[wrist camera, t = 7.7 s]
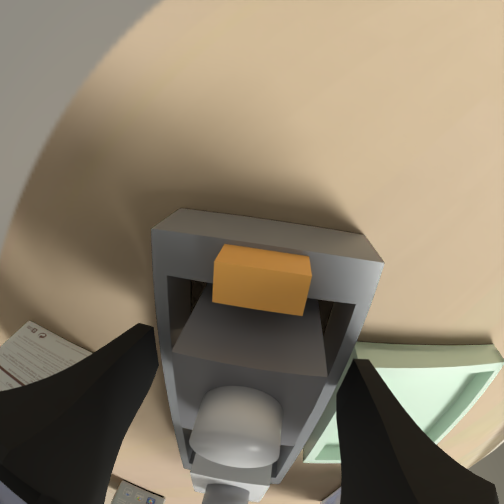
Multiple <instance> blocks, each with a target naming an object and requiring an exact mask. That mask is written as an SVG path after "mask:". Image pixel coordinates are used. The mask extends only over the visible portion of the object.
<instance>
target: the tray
mask: <svg viewBox="0 0 504 504" xmlns="http://www.w3.org/2000/svg"><path fill="white" fill-rule="evenodd" d="M353 358H354V359H369V360H370V362H371V363H372V365H373V366H374V367H375V369H376V370H377V372H378V373H379V375H380V376H381V377H382V379H383V380H384V382H385V383H386V385H387V386H388V387H389V389H390V390H391V392H392V393H393V394H394V396H395V397H396V399H397V400H398V401H399V403H400V404H401V405H402V407H403V408H404V409H405V410H406V412H407V413H408V414H409V415H410V417H411V418H412V419H413V420H414V421H415V423H416V424H417V425H418V426H419V427H420V428H421V430H422V431H423V432H424V433H425V434H426V435H427V436H428V437H429V438H430V439H431V440H432V441H433V442H434V443H435V444H437V443H438V442H439V441H441V440H442V439H443V438H444V437H445V436H446V435H447V434H448V433H449V432H450V431H451V429H452V428H453V427H454V426H455V425H456V424H457V423H458V422H459V421H460V420H461V419H462V418H463V417H464V415H465V414H466V413H467V412H468V411H469V410H470V409H471V407H472V406H473V405H474V404H475V403H476V401H477V400H478V399H479V398H480V396H481V395H482V394H483V393H484V391H485V390H486V389H487V387H488V386H489V385H490V383H491V382H492V381H493V379H494V378H495V377H496V375H497V374H498V372H499V371H500V369H501V368H502V366H503V365H504V359H503V357H502V356H501V354H500V353H499V351H498V350H497V348H496V347H495V346H494V344H489V345H406V344H386V343H370V342H356V344H355V346H354V349H353V351H352V353H351V356H350V358H349V360H348V362H347V365H346V367H345V369H344V371H343V373H342V375H341V378H340V380H339V382H338V384H337V386H336V388H335V390H334V392H333V394H332V396H331V398H330V400H329V402H328V404H327V406H326V408H325V410H324V411H323V413H322V415H321V417H320V419H319V421H318V423H317V424H316V426H315V428H314V430H313V431H312V433H311V435H310V437H309V438H308V440H307V442H306V443H305V445H304V447H303V463H341V458H340V448H339V439H338V430H337V421H336V393H337V392H338V390H339V388H340V386H341V384H342V382H343V379H344V377H345V375H346V373H347V371H348V369H349V367H350V365H351V363H352V360H353Z"/></svg>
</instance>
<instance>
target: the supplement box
mask: <svg viewBox="0 0 504 504" xmlns="http://www.w3.org/2000/svg"><path fill="white" fill-rule="evenodd" d="M91 354H93V353H91V352H89V351H87V350H85V349H83V348H81V347H79V346H77V345H75V344H73V343H71V342H69V341H67V340H65V339H63V338H61V337H59V336H58V335H56V334H54V333H52V332H50V331H48V330H46V329H45V328H43V327H41V326H39V325H37V324H36V323H34V322H32V321H28V322H27V323H26V324H24V325H23V326H22V327H21V328H20V329H19V330H18V331H17V332H16V333H14V334H13V335H12V336H11V337H10V338H9V339H8V340H7V341H6V342H5V343H4V344H3V345H2V346H1V347H0V391H4V390H9V389H13V388H17V387H21V386H24V385H27V384H30V383H33V382H36V381H39V380H41V379H44V378H47V377H49V376H52V375H54V374H56V373H58V372H60V371H62V370H64V369H66V368H68V367H70V366H72V365H74V364H76V363H77V362H79V361H81V360H83V359H84V358H86V357H88V356H89V355H91Z"/></svg>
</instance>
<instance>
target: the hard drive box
mask: <svg viewBox="0 0 504 504" xmlns="http://www.w3.org/2000/svg"><path fill="white" fill-rule="evenodd" d="M165 500H166V499H165V498H162V497H160V496H157V495H155V494H152V493H150V492H147V491H145V490H143V489H141V488H138V487H136V486H134V485H132V484H130V483H128V482H126V481H123V480H122V481H121V483H120V485H119V487H118V488H117V490H116V493H115V495H114V497H113V499H112V501H111V504H164V503H165Z"/></svg>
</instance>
